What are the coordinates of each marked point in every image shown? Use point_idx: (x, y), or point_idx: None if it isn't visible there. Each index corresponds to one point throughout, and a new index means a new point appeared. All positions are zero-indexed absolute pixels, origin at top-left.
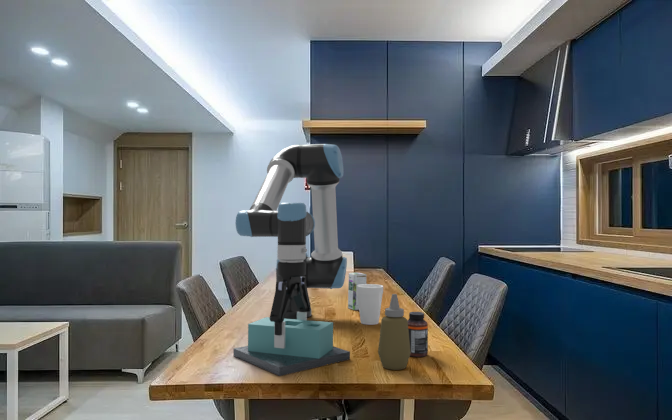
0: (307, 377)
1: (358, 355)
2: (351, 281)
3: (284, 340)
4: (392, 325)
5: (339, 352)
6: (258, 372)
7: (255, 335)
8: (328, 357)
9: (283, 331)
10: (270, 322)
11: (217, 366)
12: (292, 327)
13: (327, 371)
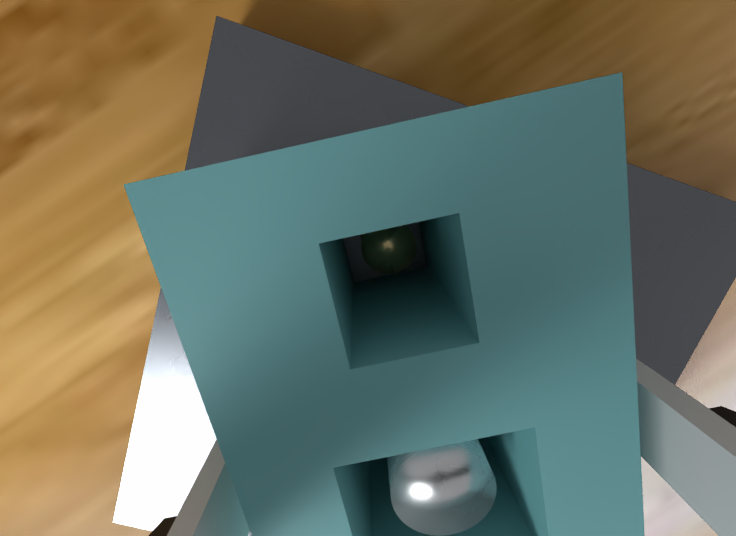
0: (689, 59)
1: (115, 35)
2: None
3: (639, 369)
4: None
5: (286, 76)
6: (705, 334)
7: None
8: (418, 89)
9: (713, 416)
10: None
11: (692, 529)
12: (617, 410)
13: (537, 19)
